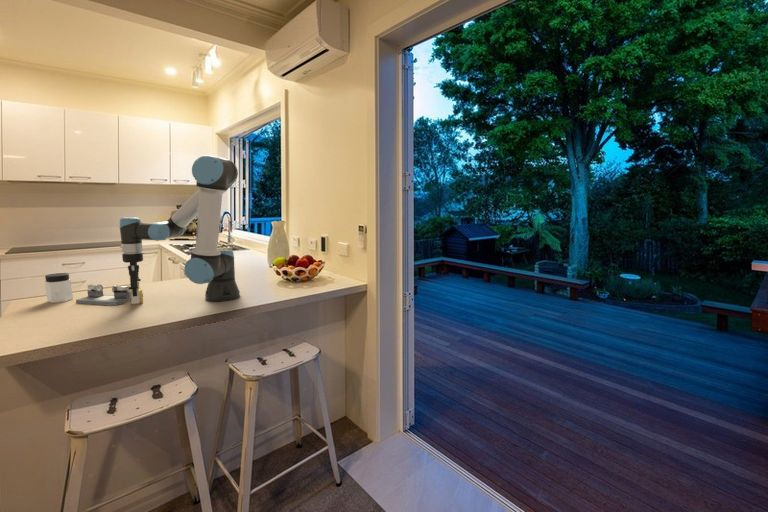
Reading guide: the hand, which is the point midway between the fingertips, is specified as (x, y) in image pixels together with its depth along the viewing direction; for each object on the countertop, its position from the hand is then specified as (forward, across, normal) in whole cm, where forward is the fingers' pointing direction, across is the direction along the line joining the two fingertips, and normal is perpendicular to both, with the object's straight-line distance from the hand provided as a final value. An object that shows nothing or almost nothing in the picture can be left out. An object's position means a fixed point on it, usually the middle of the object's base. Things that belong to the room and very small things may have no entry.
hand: (136, 299), depth 167 cm
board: (+2, -10, -12) cm, 16 cm away
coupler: (+2, 0, 0) cm, 2 cm away
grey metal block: (0, -7, -5) cm, 9 cm away
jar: (+2, -22, -30) cm, 37 cm away
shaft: (0, -16, -16) cm, 23 cm away
